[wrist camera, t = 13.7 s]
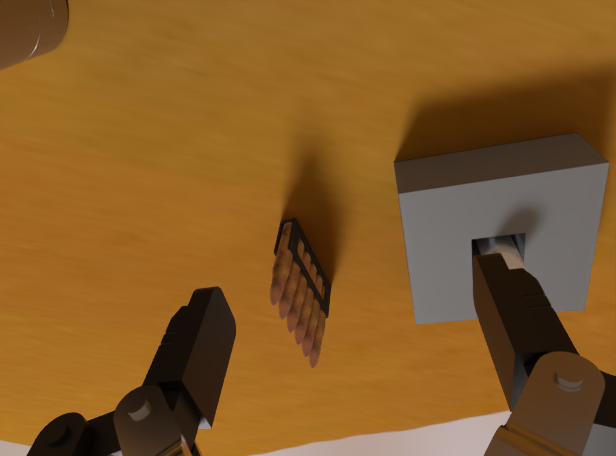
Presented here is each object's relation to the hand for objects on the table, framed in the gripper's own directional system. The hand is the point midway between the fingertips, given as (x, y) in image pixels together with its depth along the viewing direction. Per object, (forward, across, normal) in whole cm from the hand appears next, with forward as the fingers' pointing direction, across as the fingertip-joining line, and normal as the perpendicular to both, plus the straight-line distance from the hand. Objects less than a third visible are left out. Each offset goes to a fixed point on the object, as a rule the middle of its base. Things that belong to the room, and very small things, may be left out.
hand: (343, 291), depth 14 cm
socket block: (+27, -11, +18) cm, 35 cm away
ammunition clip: (+28, +8, +20) cm, 35 cm away
